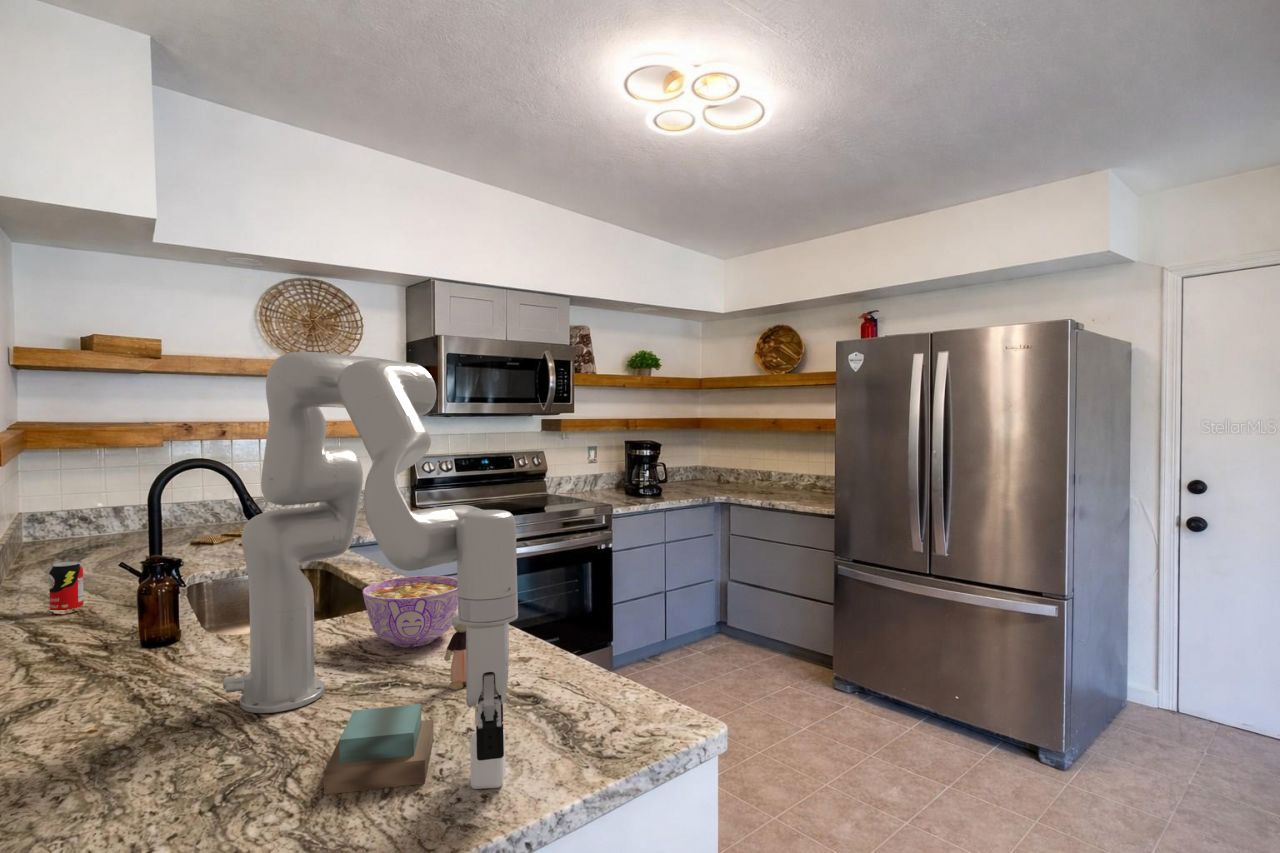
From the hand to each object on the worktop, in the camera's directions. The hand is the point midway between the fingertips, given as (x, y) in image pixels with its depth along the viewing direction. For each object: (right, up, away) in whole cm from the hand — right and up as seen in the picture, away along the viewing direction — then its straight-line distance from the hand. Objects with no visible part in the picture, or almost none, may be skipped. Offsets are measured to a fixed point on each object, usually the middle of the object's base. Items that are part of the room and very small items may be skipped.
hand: (490, 740), depth 87 cm
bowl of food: (-28, -5, +56) cm, 63 cm away
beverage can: (-121, -5, +79) cm, 145 cm away
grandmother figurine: (-12, -5, +32) cm, 35 cm away
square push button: (-15, -5, +4) cm, 17 cm away
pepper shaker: (0, -6, 0) cm, 6 cm away
